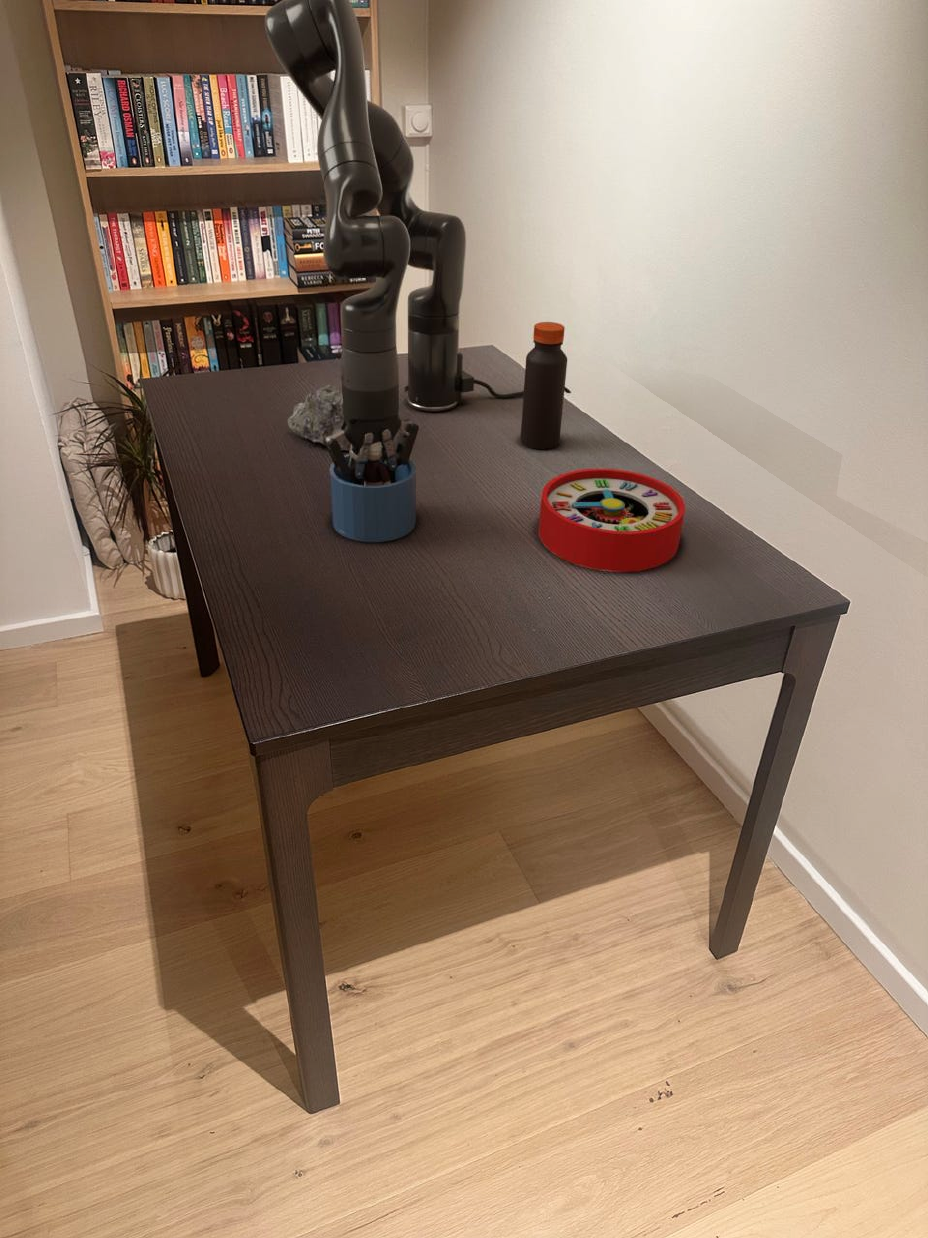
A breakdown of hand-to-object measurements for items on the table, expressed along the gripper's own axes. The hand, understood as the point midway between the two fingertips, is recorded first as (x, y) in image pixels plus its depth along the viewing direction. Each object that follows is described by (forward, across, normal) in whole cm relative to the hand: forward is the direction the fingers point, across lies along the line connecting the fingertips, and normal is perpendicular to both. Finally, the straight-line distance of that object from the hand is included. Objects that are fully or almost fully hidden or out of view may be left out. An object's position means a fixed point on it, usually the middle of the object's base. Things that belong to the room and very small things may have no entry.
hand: (373, 495), depth 130 cm
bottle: (+4, +38, +13) cm, 40 cm away
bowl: (+4, 0, 0) cm, 4 cm away
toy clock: (+4, +28, -19) cm, 34 cm away
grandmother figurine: (+4, 0, 0) cm, 4 cm away
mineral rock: (+5, +6, +30) cm, 31 cm away
